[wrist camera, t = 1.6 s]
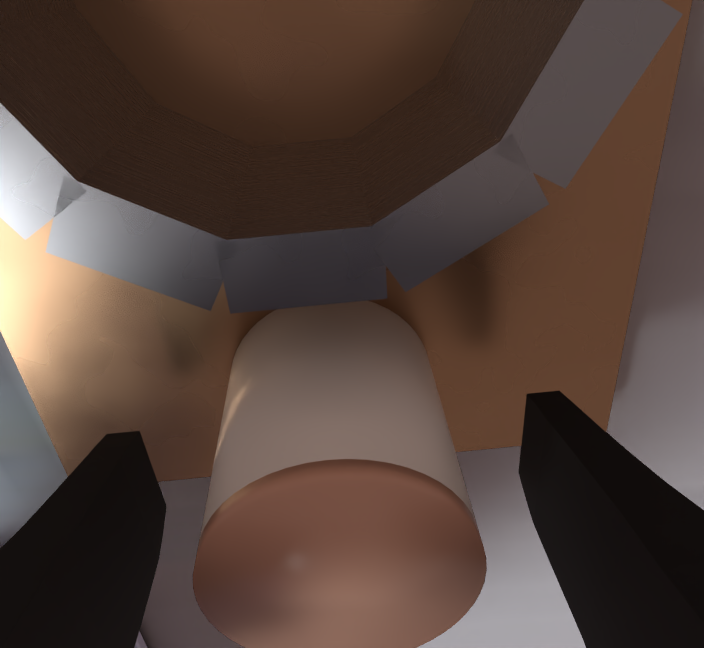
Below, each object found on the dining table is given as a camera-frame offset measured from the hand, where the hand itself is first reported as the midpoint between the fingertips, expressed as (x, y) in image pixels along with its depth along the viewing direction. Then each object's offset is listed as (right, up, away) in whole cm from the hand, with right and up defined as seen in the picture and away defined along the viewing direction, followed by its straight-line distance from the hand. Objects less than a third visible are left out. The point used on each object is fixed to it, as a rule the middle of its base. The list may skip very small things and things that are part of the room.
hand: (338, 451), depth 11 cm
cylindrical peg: (0, +1, +2) cm, 2 cm away
